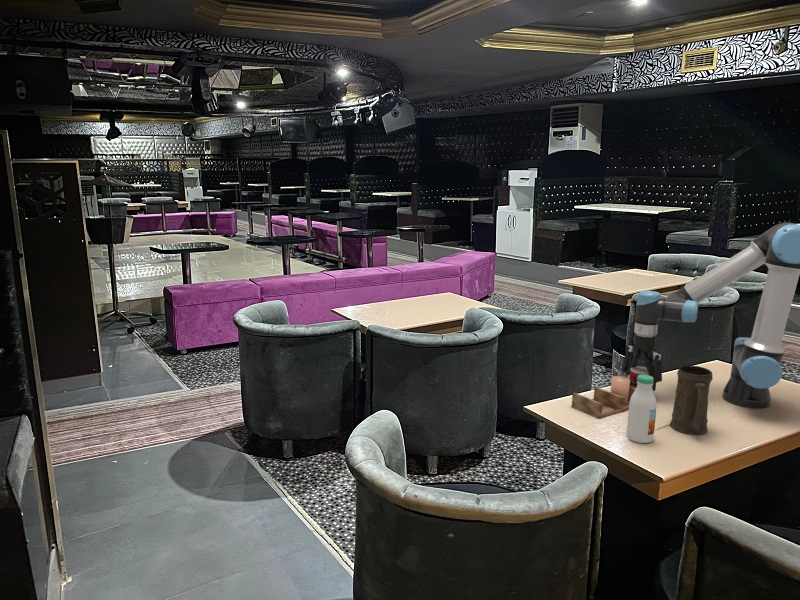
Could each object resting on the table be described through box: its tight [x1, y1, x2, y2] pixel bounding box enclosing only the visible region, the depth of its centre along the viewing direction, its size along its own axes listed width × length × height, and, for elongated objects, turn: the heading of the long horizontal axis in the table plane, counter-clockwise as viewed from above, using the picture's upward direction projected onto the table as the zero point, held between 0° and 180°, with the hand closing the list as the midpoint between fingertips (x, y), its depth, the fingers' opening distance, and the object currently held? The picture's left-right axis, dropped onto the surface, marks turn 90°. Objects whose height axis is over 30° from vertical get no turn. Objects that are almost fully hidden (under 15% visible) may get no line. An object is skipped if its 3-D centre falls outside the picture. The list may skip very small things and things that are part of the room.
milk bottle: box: [626, 375, 657, 444], centre depth 180 cm, size 8×8×20 cm
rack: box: [571, 386, 636, 420], centre depth 204 cm, size 12×23×6 cm, turn 121°
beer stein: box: [669, 365, 713, 436], centre depth 186 cm, size 15×11×20 cm
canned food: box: [629, 365, 649, 388], centre depth 214 cm, size 8×8×11 cm
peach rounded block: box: [610, 375, 630, 406], centre depth 207 cm, size 6×6×9 cm
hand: (639, 395), depth 215 cm, fingers closed on canned food, 8 cm apart
